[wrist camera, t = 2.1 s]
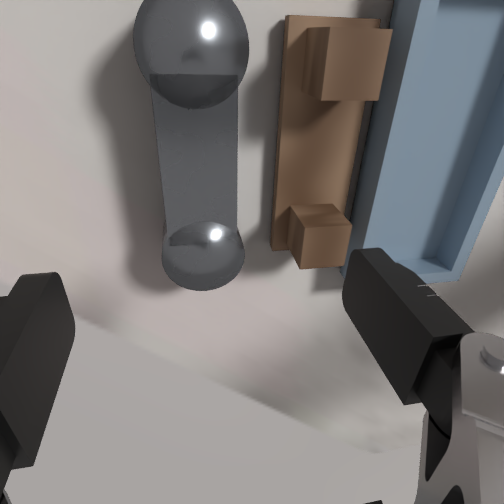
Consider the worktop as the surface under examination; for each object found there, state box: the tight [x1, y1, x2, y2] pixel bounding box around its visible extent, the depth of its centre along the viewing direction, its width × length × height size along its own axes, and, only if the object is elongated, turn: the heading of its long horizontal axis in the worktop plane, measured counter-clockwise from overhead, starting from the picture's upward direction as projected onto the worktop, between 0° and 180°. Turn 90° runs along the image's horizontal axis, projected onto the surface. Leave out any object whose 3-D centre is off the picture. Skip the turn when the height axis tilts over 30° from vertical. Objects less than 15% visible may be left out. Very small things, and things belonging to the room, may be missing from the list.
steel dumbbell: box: [133, 0, 249, 291], centre depth 20 cm, size 5×16×4 cm, turn 178°
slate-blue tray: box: [340, 0, 504, 284], centre depth 22 cm, size 9×20×2 cm, turn 178°
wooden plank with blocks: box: [270, 15, 393, 269], centre depth 21 cm, size 5×14×4 cm, turn 178°
